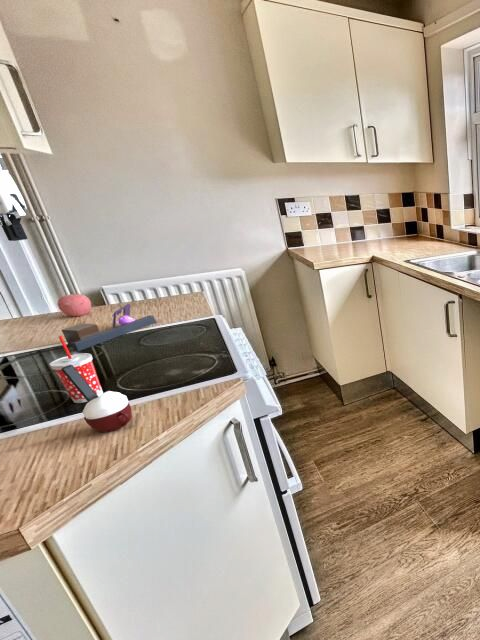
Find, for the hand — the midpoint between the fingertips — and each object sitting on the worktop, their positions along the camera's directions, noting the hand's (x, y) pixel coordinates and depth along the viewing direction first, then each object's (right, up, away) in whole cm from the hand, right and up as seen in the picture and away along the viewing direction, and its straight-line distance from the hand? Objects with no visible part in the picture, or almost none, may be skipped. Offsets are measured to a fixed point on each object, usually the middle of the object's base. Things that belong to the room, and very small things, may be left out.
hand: (18, 239), depth 113 cm
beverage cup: (+45, -40, -25) cm, 65 cm away
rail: (+20, -26, +7) cm, 34 cm away
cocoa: (+59, -43, -35) cm, 81 cm away
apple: (-9, -19, +25) cm, 33 cm away
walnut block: (+16, -28, +2) cm, 32 cm away
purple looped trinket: (+18, -24, +14) cm, 33 cm away
